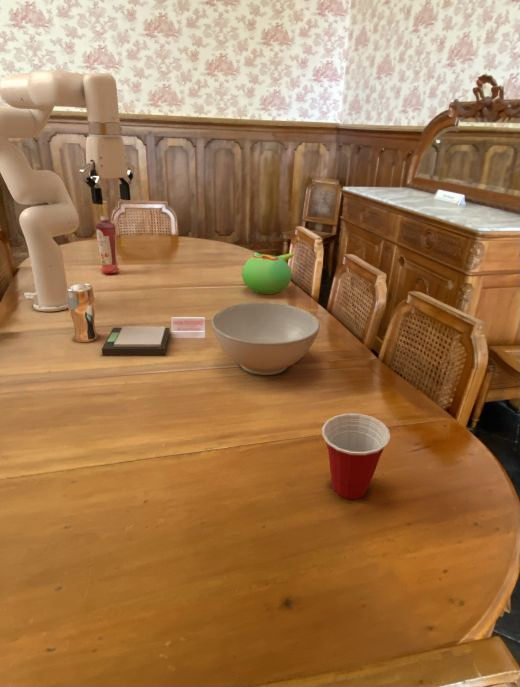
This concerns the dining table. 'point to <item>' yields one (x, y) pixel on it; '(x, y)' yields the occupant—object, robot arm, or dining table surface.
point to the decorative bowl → (265, 335)
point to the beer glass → (82, 311)
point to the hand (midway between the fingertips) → (112, 201)
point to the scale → (137, 340)
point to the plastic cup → (354, 451)
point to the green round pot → (267, 273)
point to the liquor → (107, 242)
